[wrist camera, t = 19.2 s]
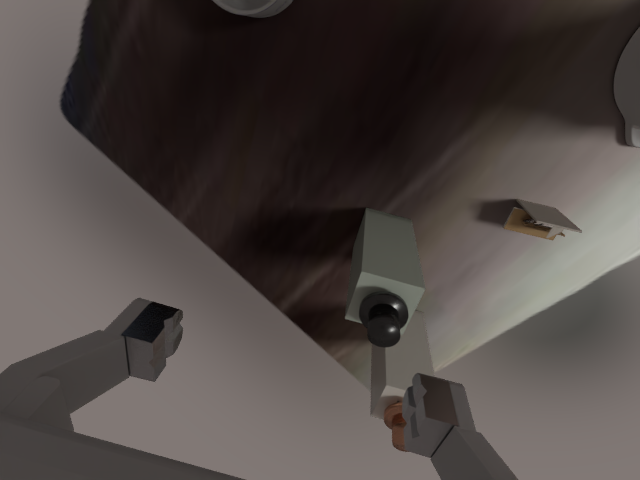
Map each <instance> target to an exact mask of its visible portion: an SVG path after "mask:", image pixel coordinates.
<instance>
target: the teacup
mask: <svg viewBox="0 0 640 480" xmlns="http://www.w3.org/2000/svg"><path fill="white" fill-rule="evenodd" d="M212 1H213V2H215V3H216V4H217V5H218V6H220V7H221V8H222V9H224V10H226V11H228V12H230V13H233V14H237V15H245V16H250V17H256V18H265V17H270V16H273V15H276V14H278V13H280V12H281V11H283V10H284V9H286V8H287V7H288V6H289V5H290V4H291V3H292V1H293V0H212Z"/></svg>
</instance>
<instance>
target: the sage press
mask: <svg viewBox="0 0 640 480" xmlns="http://www.w3.org/2000/svg"><path fill="white" fill-rule="evenodd" d="M378 291H387V292H392V293H395V294H397V295H398V296H400V297H401V298H402V299H403V300H404V301H405V302H406V304H407V307H408V321H407V323H406V324H405V326H404V327H403V328H401V329H400V334H402V335H403V333H404V331H405V329H406V327H407V325H408V323H409V321H410V319H411V317H412V315H413V313H414V311H415V309H416V307H417V305H418V303H419V301H420V299H421V297H422V295H423V293H424V291H425V284H424V279H423V274H422V269H421V264H420V259H419V255H418V250H417V245H416V240H415V235H414V230H413V225H412V220H410V219H407V218H403V217H399V216H395V215H392V214H388V213H384V212H381V211H377V210H373V209H370V208H366V209H365V212H364V216H363V219H362V222H361V225H360V228H359V231H358V234H357V237H356V240H355V243H354V246H353V254H352V262H351V271H350V279H349V287H348V295H347V304H346V312H345V319H348V320H351V321H355V322H358V323H362V322H361V321H360V318H359V306H360V303H361V301H362V300H363V299H364V298H365V297H366V296H367V295H369V294H371V293H374V292H378Z"/></svg>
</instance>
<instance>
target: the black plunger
mask: <svg viewBox="0 0 640 480" xmlns="http://www.w3.org/2000/svg"><path fill="white" fill-rule="evenodd" d="M359 318H360V321H361V322H362V324H363V325H364V326H365V327H366V328H368V339H369V341H370V342H371V343H372V344H374V345H376V346H378V347H384V348H386V347H391V346H394V345H396V344H397V343H398V342H399V340H400V329H401V328H403V327H404V326H405V324H406V323H407V321H408V307H407V304H406V302H405V301H404V300H403V299H402V298H401V297H400V296H398V295H397V294H395V293H392V292H387V291H378V292H374V293H371V294H369V295H367V296H366V297H365V298H364V299H363V300H362V301H361V303H360V306H359Z"/></svg>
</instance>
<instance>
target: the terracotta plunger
mask: <svg viewBox="0 0 640 480" xmlns="http://www.w3.org/2000/svg"><path fill="white" fill-rule="evenodd" d="M384 422H385V424H386V426H387V427H389V428H390V429H392V442H393V446H394V447H395V448H396V449H398V450H401V451H405V452H409V451H406V450H405V445H404V432H403V429H404V428H405V426H406V424H407V423H406V421H405V420H404V418H403V417H402V402H401V401H398V403H394V404H391V405H389V406H388V407H387V408H386V409H385V410H384Z"/></svg>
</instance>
